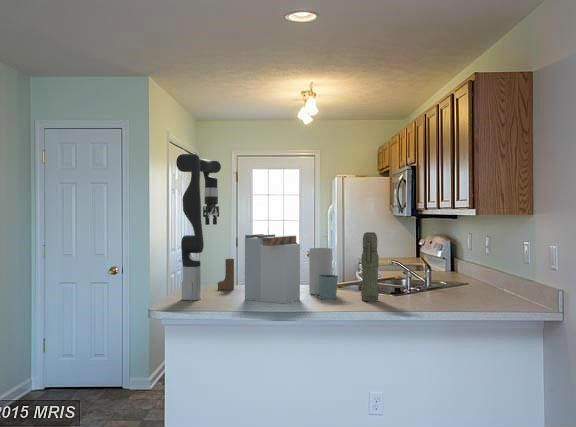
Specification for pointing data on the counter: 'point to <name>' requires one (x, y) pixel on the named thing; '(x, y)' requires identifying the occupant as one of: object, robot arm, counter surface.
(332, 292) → the teal cup
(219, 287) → the wooden block
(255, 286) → the stand
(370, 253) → the thermos
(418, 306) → the counter surface
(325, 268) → the cylinder vase
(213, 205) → the robot arm
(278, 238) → the walnut bar
